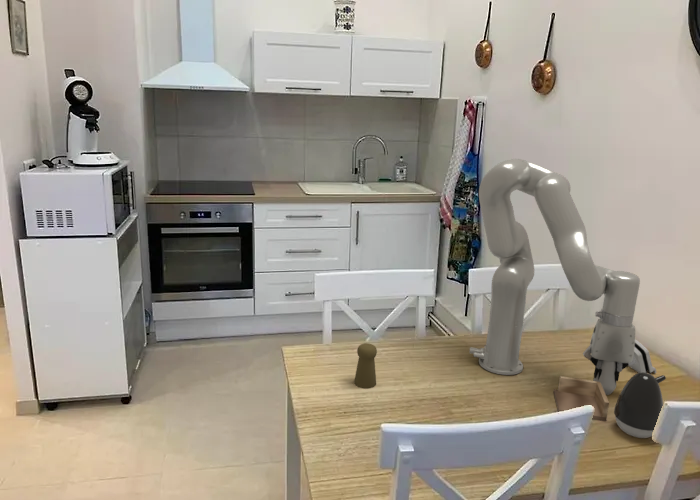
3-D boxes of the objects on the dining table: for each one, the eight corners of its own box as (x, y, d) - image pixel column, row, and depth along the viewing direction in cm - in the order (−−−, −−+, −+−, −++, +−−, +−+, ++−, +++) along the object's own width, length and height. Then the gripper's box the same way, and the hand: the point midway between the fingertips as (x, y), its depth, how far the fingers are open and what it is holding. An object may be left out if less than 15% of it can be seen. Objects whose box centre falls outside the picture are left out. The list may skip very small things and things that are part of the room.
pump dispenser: (670, 442, 125) (683, 382, 122) (631, 446, 123) (643, 385, 119) (638, 418, 135) (650, 362, 131) (602, 421, 133) (612, 364, 129)
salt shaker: (591, 393, 146) (599, 349, 143) (591, 384, 151) (598, 341, 148) (615, 398, 144) (624, 353, 141) (614, 389, 149) (622, 345, 146)
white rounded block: (657, 374, 159) (653, 345, 156) (643, 380, 159) (639, 351, 155) (618, 349, 175) (614, 323, 172) (605, 355, 174) (601, 328, 171)
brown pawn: (379, 380, 147) (382, 343, 145) (371, 390, 142) (373, 352, 139) (359, 375, 150) (361, 338, 147) (350, 385, 144) (352, 347, 142)
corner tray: (558, 413, 135) (561, 395, 134) (553, 392, 146) (556, 375, 144) (605, 421, 133) (609, 402, 132) (597, 399, 143) (600, 381, 142)
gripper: (585, 319, 140) (575, 383, 145) (655, 327, 137) (641, 393, 141) (581, 309, 147) (570, 371, 152) (646, 317, 144) (634, 380, 148)
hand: (605, 381), depth 147 cm, fingers open, 3 cm apart
